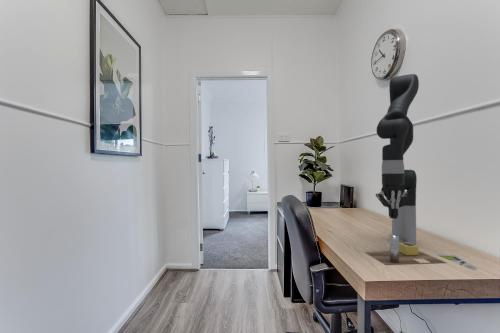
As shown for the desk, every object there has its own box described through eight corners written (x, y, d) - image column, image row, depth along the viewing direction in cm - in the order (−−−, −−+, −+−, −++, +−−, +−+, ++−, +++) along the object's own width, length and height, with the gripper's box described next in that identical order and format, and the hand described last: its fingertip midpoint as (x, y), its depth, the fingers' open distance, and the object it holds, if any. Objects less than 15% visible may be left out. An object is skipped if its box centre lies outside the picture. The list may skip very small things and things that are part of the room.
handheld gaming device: (449, 266, 90) (429, 253, 105) (449, 269, 90) (429, 255, 105) (479, 268, 89) (455, 254, 103) (479, 270, 89) (455, 256, 103)
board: (364, 256, 103) (364, 252, 103) (418, 254, 105) (418, 250, 105) (385, 269, 89) (385, 265, 89) (447, 267, 91) (447, 262, 91)
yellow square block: (398, 251, 104) (397, 242, 104) (409, 250, 104) (409, 241, 104) (406, 255, 99) (406, 245, 99) (418, 254, 99) (418, 245, 99)
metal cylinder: (388, 260, 94) (387, 234, 94) (395, 260, 94) (395, 234, 94) (393, 263, 91) (392, 236, 91) (400, 262, 91) (400, 236, 91)
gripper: (403, 172, 105) (403, 216, 105) (370, 172, 104) (371, 217, 104) (416, 172, 98) (416, 219, 97) (381, 172, 97) (382, 220, 96)
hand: (393, 218), depth 101 cm, fingers closed
